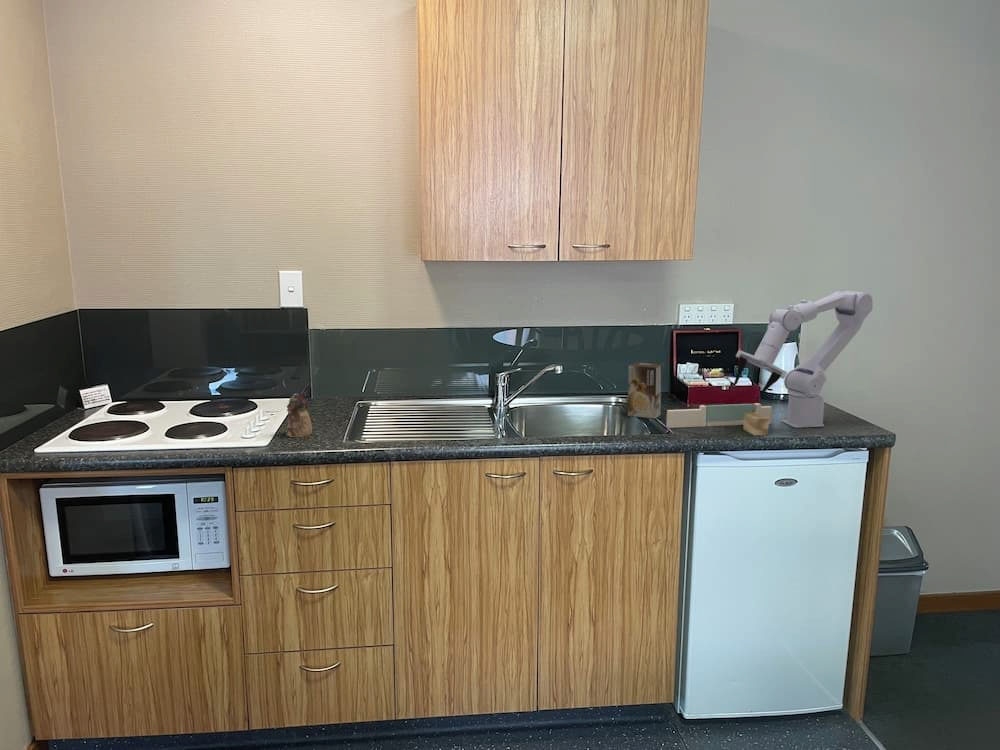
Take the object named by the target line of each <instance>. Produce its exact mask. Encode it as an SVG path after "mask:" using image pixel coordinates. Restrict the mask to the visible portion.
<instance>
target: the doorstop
mask: <svg viewBox="0 0 1000 750" xmlns="http://www.w3.org/2000/svg"><path fill="white" fill-rule="evenodd" d="M769 426H770V424H769V418H767V417H765V416H763V415H761V414H760V413H758V412H755V413H744V425H743V430H744V431H745V432H746V433H749V434H751V435H752V434H753V436H754V435H755V436H754V437H756V435H760V436H768V435H769Z"/></svg>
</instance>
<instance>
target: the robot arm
mask: <svg viewBox="0 0 1000 750" xmlns="http://www.w3.org/2000/svg"><path fill="white" fill-rule="evenodd" d="M799 301H800V303H797V304H794V305H792V304H791V305H788V306H787V307H786V308H785V309H784V308H777V309H775V310H773V312H771V313H770V314H769V318H768V325H767V326H766V329H767V330H766V332H765V334H764V336H763V338H762V340H761V342H760V343H759V345H758V348H756V351H755V353H754V355H753V354H751V353H748V352H745V351H743V350H742V349H738V351H737V353H736V354H735V357H736V359H737V358H738V360H737V361H738V362H737V370H736V376H735V380H734V382H733V384H734V385H736V386H737V385H738V382H739V380H740V378H741V375H742V373H743V372H744V369H745V367H746V366H747V363H750V364H752V365H754V366H755V367H758V368H760V369H762V370H764V371H767V372H768V373H771V374H770V376H769V378H768V380H767V382H766V383H765V385H764V386H763V388H762V390H761V391H760V393H759V395H758V396H759V397H761V398H762V397H763V395H764V393H766V391H767V390H769V388H770V387H772V385H774V384H775V383H776V382H778V381H779V380H780V378H781V380H783V379H784V380H783V385H784V388H785V389H787V393H788V406H787V407H788V408H787V419H781V422H782V423H784V424H787V426H790V427H792V428H797V429H798V428H817V427H819V428H820V427H825V424H824V414H825V413H824V412H825V401H824V398H823V397H822V396H821V395H820V393H821V391H822V389H823V385H824V384H825V382H826V381H827V376H826V374H825V372H826V370H827V369H828V368H829V367H830V366H831V365H832V364H833V362H834V361H835V360H836V359H837V357H838V356H839V355H840V354H841V353H842V352H843V350H845V348H846V347H847V346H848V345H849V343H850V342H851V340H852V339H853V338H854V337H855V336H856V335H857V333H858V332H860V330H861V327H862V325H863V323H864V322H865V319H866V318H867V317H868V316H869V315H870V313H871V312H872V311H873V297H872V295H871V293H869V292H867V291H854V290H853V291H852V290H846V289H840V290H837V291H836V290H835V291H833V292H832V294H829V295H827V296H825V297H822V298H820V299H817V300H815V301H814V302H813V301H811V300H808V299H802V300H799ZM830 310H834V311H835V312H834V313H835V315H836V319H837V321H838V323H839V324H838V325H837V326H836V327H835V328H834V330H833V331H832V332H831V333H830V334H829V336H828V337H827V338H826V339H825V340H824V342H823V343H822V344H821V345H820V346H819V347H818V349H817V350H816V351H815V352H814V353H813V355H812V356H811V357H810V358H809V360H807V361H806V362H803V363H800V364H798V365H796V366H795V368H794V369H792V370H789V371H786V370H784V369H782V368H780V367H778V366H777V365H775V364H774V363H775V362H776V359H777V357H778V356H779V354H780V353H781V352H780V351H781V350H782V347H783V345H784V344H785V342H786V341H787V338H788V336H789V334H790V333H791V331H796V330H797V329H798V328H799V326H800V325H802V324H804V323H805V324H806V323H807V322H810V321H813V320H815V319H816V318H817V316H818V314H820V313H823V312H826V311H830Z"/></svg>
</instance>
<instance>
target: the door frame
mask: <svg viewBox="0 0 1000 750" xmlns="http://www.w3.org/2000/svg"><path fill="white" fill-rule="evenodd" d="M753 404H755V412H758V413H760V414H761V415H763V416H765V417H767V418H769V425H771V424H772V415H773V407H772V406H770V405H767V406H766V405H764V406H763V405H762V403H759V402H758V403H757V402H755V403H753ZM741 425H742V426H744V420H723V421H706V405H704V404H701V405H699V408H691V409H690V408H688V409H667V410H666V426H667V427H666V428H668V429H673V428H698V427H699V428H700V427H718V426H719V427H721V426H741Z"/></svg>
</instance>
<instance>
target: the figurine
mask: <svg viewBox="0 0 1000 750" xmlns="http://www.w3.org/2000/svg"><path fill="white" fill-rule="evenodd" d="M307 396H308V394H307V393H306V392H303V393H302V395H300V394H299V393H294V394H292V396H291V397H290V398H289V400H288V404H287V406H286V409H287V411H286V412H287V413H288V420H287V427H286V437H287V436H289V438H291V437H302V438H305V437H304V436H306V437H308V436H307V435H309V436H311V435H312V434H311V433H313V425H312V420H311V416H310V414H309V412H308V410H309V402H308V400H306V399H305V398H306V397H307ZM303 404H305V407H303ZM310 434H311V435H310Z"/></svg>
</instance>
